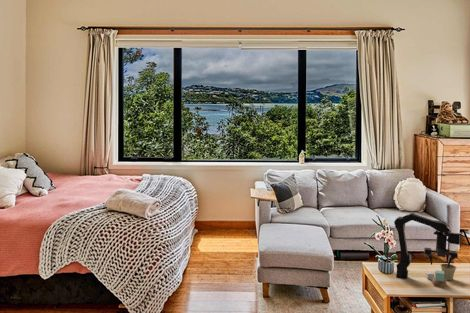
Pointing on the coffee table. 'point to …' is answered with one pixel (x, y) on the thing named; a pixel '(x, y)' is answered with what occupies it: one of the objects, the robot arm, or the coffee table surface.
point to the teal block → (439, 275)
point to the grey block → (429, 275)
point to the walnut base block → (438, 283)
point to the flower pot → (448, 271)
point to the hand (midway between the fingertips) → (439, 265)
